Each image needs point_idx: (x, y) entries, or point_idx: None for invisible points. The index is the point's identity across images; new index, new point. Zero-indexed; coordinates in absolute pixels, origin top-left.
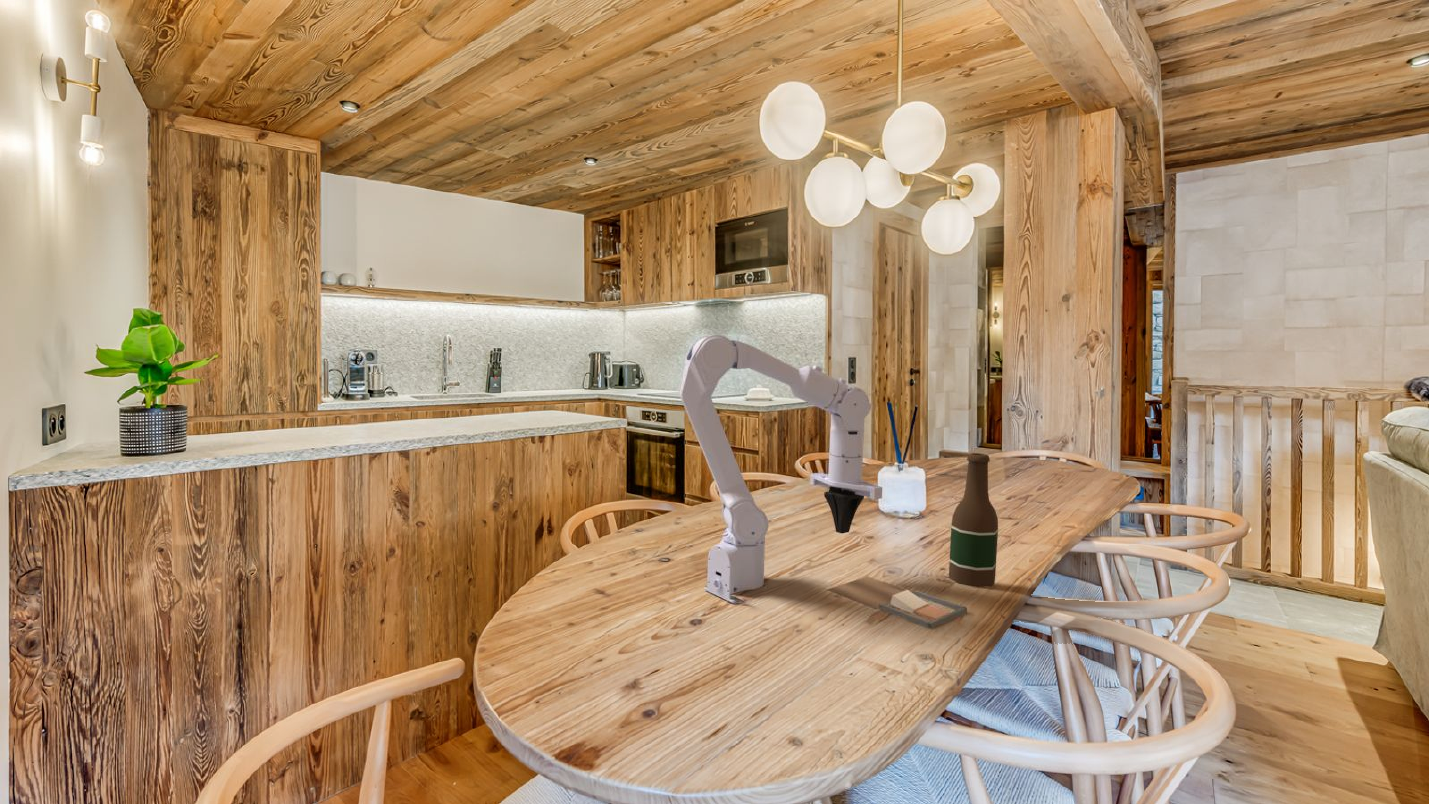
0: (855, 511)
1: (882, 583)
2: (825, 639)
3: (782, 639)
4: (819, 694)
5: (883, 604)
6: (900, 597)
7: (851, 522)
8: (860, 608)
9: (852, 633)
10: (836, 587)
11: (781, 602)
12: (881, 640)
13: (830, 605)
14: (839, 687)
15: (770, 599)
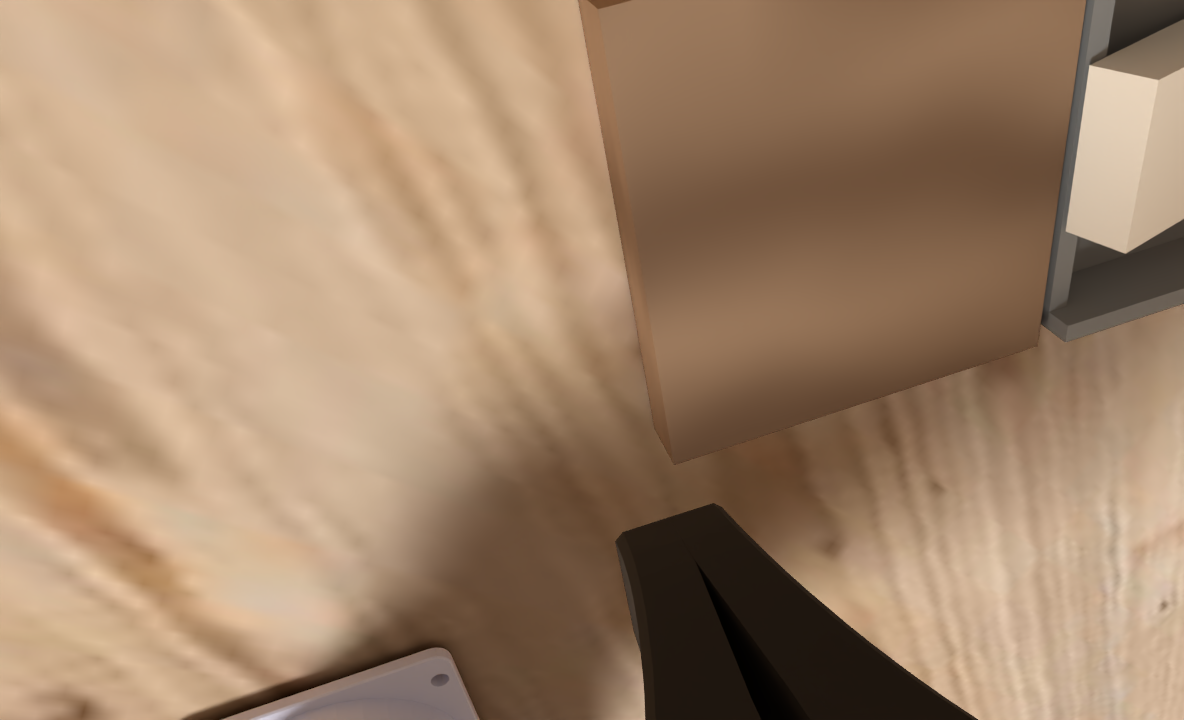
0: (952, 711)
1: (801, 3)
2: (975, 595)
3: None
4: (1150, 701)
5: (1085, 322)
6: (1158, 206)
7: (795, 584)
8: None
9: (1016, 489)
10: (676, 393)
11: (585, 641)
12: (1134, 416)
13: (744, 447)
14: (1173, 654)
15: (526, 674)
